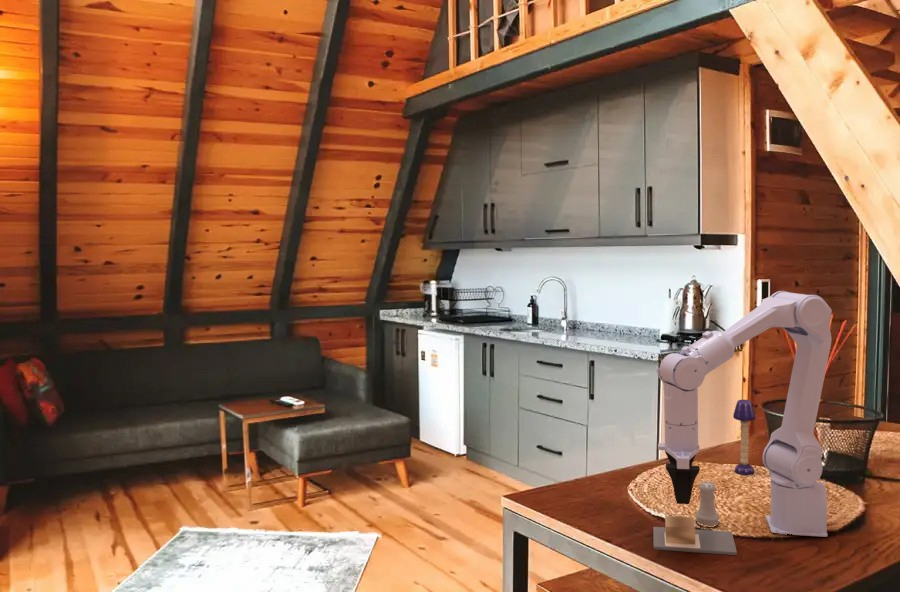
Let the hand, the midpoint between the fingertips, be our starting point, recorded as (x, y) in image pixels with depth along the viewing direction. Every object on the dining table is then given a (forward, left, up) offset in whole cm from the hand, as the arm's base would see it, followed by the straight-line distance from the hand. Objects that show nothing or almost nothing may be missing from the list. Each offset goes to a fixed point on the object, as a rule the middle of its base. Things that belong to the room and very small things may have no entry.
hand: (682, 495), depth 140 cm
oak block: (0, -1, -8) cm, 8 cm away
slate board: (-2, -1, -9) cm, 9 cm away
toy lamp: (-15, -41, -9) cm, 45 cm away
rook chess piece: (-5, -10, -9) cm, 14 cm away
